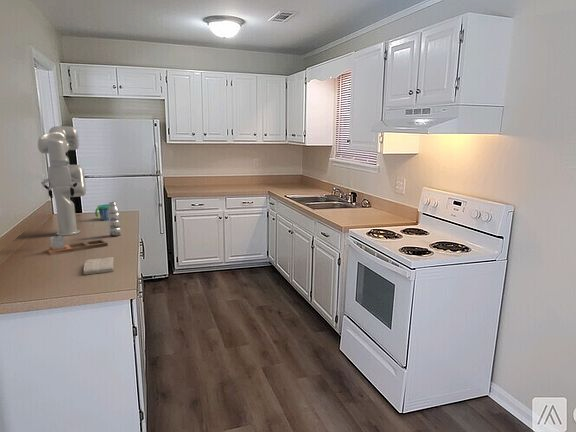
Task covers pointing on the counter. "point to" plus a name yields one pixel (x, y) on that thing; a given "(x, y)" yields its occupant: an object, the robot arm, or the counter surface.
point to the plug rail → (82, 247)
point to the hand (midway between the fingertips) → (62, 196)
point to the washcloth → (99, 266)
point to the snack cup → (103, 211)
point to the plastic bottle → (114, 219)
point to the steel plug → (57, 243)
